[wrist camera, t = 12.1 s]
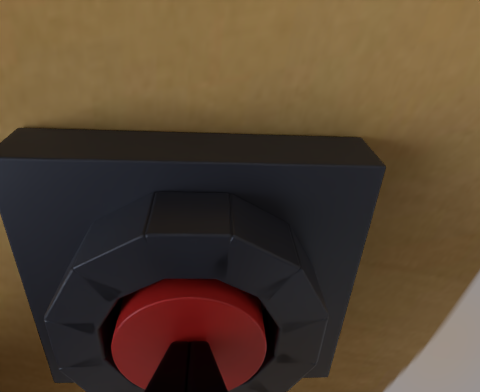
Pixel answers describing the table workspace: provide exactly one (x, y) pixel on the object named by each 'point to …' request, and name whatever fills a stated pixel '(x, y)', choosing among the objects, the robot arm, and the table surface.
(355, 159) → the button box
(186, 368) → the robot arm
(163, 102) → the table surface
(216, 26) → the table surface
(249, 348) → the red button
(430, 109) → the table surface
